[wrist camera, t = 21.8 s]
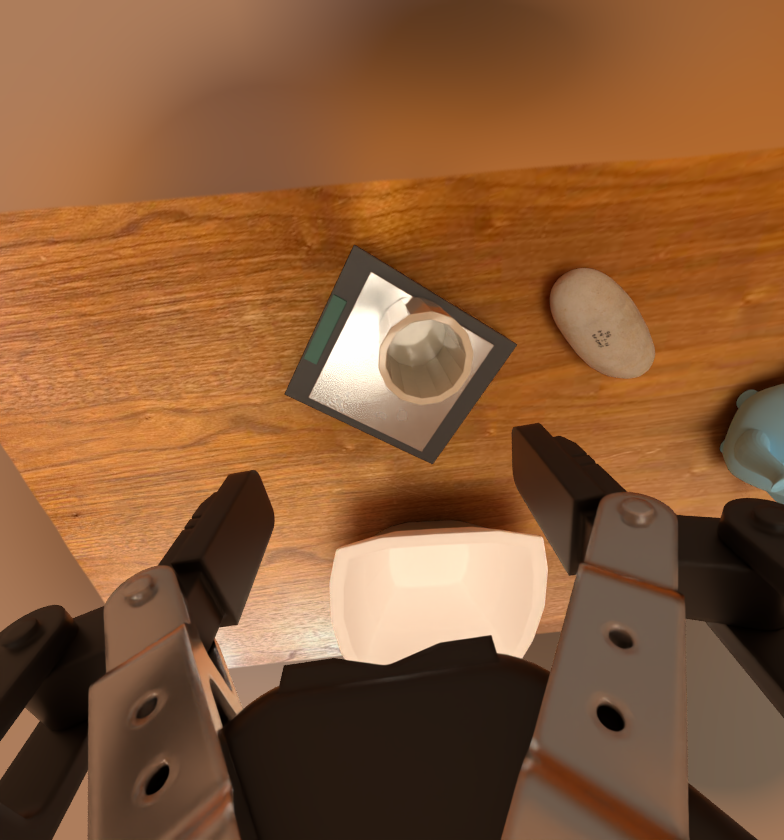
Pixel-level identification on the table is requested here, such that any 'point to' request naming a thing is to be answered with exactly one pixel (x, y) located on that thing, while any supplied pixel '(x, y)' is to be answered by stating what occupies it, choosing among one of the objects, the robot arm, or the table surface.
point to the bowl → (436, 589)
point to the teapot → (758, 441)
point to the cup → (422, 351)
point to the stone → (601, 323)
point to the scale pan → (362, 382)
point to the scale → (334, 321)
